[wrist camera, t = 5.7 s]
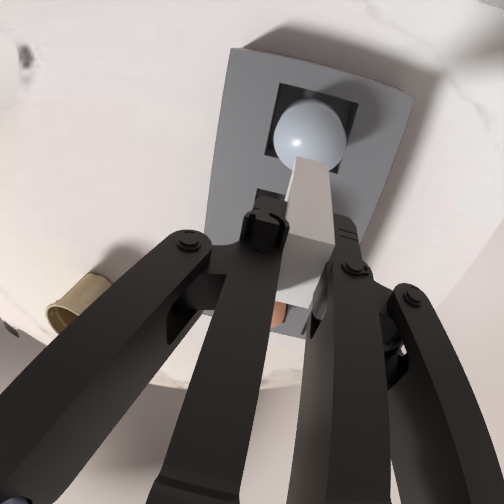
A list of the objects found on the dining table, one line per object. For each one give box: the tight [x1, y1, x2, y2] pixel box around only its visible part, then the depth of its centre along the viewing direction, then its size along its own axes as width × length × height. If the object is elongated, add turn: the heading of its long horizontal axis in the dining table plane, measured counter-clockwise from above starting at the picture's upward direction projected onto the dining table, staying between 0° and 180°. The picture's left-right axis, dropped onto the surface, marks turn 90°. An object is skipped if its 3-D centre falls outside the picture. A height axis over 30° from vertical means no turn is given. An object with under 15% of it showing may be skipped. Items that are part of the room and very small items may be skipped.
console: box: [202, 48, 415, 339], centre depth 30 cm, size 28×14×4 cm, turn 170°
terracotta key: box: [271, 301, 286, 328], centre depth 34 cm, size 5×5×4 cm
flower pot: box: [45, 273, 112, 335], centre depth 41 cm, size 9×9×9 cm
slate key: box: [274, 98, 346, 170], centre depth 22 cm, size 5×5×4 cm
